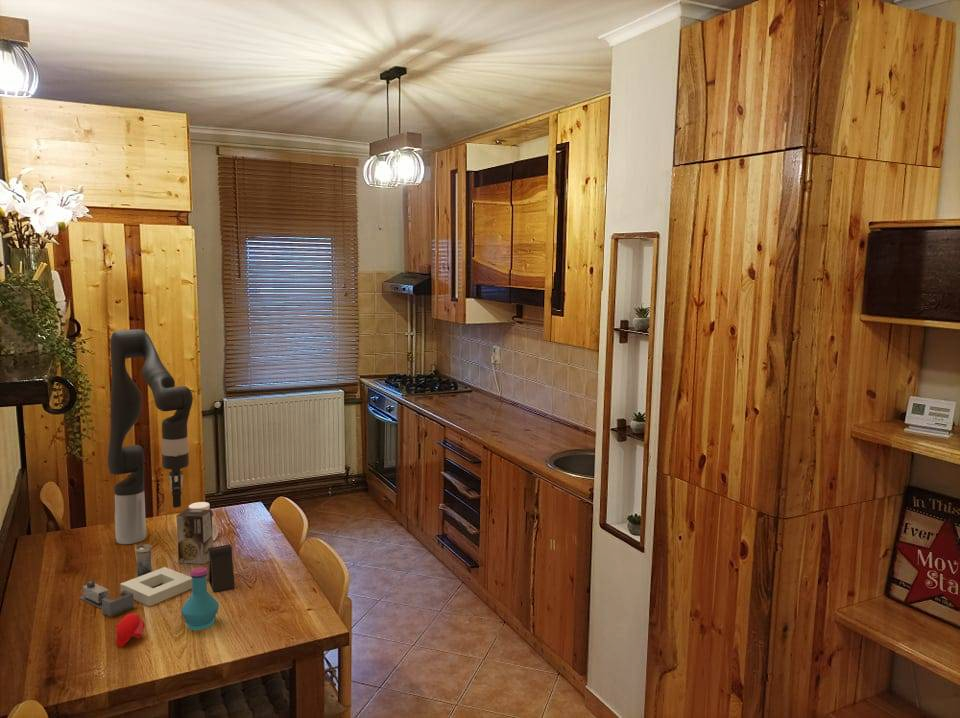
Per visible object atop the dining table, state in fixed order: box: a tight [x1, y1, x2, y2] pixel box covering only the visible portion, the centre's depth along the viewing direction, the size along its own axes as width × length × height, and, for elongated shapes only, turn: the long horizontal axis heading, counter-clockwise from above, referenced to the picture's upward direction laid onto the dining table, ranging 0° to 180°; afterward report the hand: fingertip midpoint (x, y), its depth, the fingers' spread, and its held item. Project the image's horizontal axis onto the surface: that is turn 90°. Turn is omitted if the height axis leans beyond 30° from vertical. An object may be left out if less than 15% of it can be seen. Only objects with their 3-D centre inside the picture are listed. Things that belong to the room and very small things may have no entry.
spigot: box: [134, 543, 153, 578], centre depth 211 cm, size 5×5×9 cm
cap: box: [115, 612, 145, 648], centre depth 174 cm, size 8×6×6 cm
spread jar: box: [188, 501, 219, 541], centre depth 241 cm, size 12×11×12 cm
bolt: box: [82, 579, 110, 604], centre depth 195 cm, size 8×3×4 cm, turn 58°
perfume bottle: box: [181, 566, 220, 631], centre depth 182 cm, size 9×9×15 cm
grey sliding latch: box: [78, 590, 135, 618], centre depth 193 cm, size 18×7×4 cm, turn 58°
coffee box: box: [175, 508, 214, 565], centre depth 223 cm, size 9×6×16 cm
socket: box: [119, 566, 192, 607], centre depth 201 cm, size 14×14×3 cm
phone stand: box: [207, 544, 236, 593], centre depth 206 cm, size 9×6×12 cm, turn 30°
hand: (176, 502), depth 212 cm, fingers open, 8 cm apart
